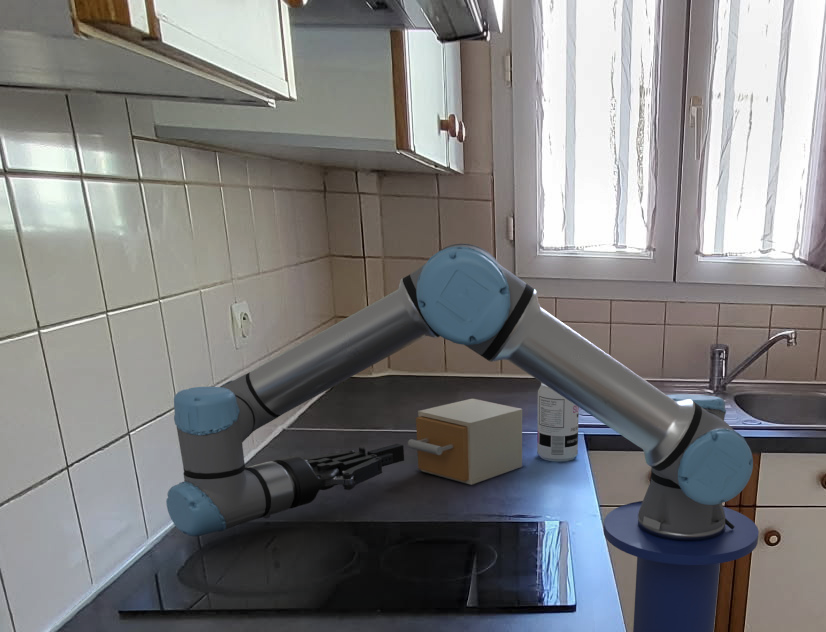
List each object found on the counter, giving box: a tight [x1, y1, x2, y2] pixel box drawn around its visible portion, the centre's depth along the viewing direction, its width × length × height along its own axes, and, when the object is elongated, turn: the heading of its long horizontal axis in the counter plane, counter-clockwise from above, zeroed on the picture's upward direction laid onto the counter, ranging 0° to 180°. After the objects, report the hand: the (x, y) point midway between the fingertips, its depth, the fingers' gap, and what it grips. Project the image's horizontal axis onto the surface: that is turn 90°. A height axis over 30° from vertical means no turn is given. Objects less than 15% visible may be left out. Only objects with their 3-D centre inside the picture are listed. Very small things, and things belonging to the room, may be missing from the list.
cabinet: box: [417, 398, 523, 486], centre depth 157 cm, size 15×13×12 cm
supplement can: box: [536, 382, 580, 463], centre depth 167 cm, size 8×8×15 cm
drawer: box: [407, 416, 469, 481], centre depth 154 cm, size 18×11×10 cm, turn 150°
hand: (400, 452), depth 142 cm, fingers closed
